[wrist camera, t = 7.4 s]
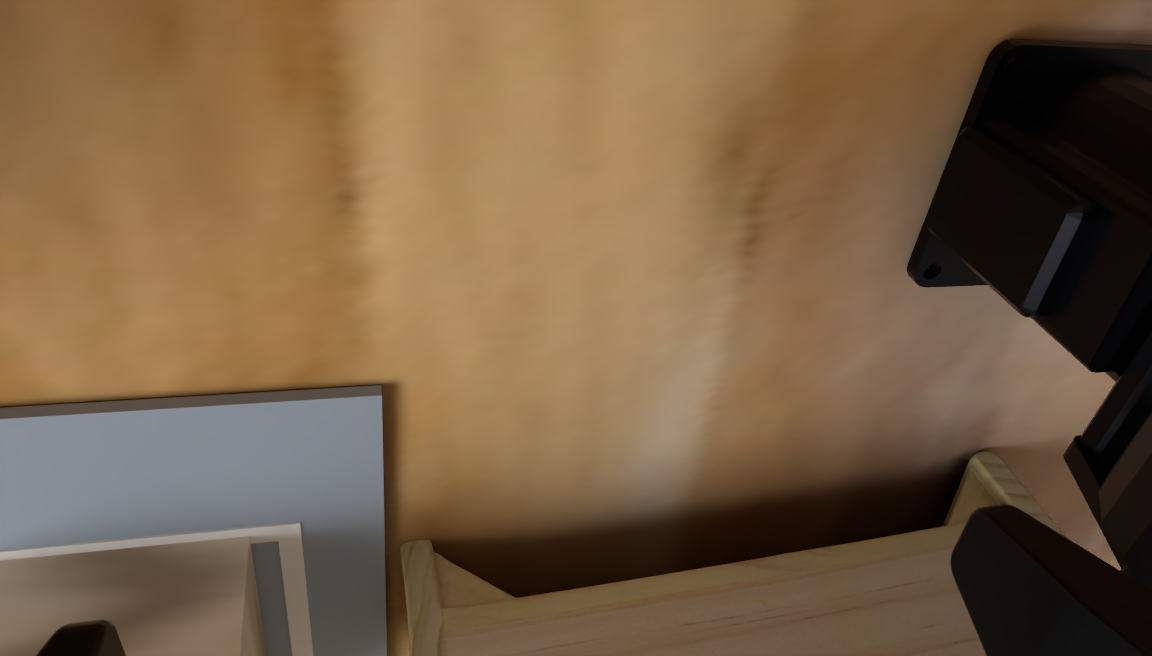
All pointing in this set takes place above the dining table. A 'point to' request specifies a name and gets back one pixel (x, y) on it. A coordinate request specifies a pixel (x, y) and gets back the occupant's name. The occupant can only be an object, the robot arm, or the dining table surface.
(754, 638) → the toy sofa
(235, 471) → the building mat
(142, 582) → the block
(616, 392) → the dining table surface
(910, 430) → the dining table surface
